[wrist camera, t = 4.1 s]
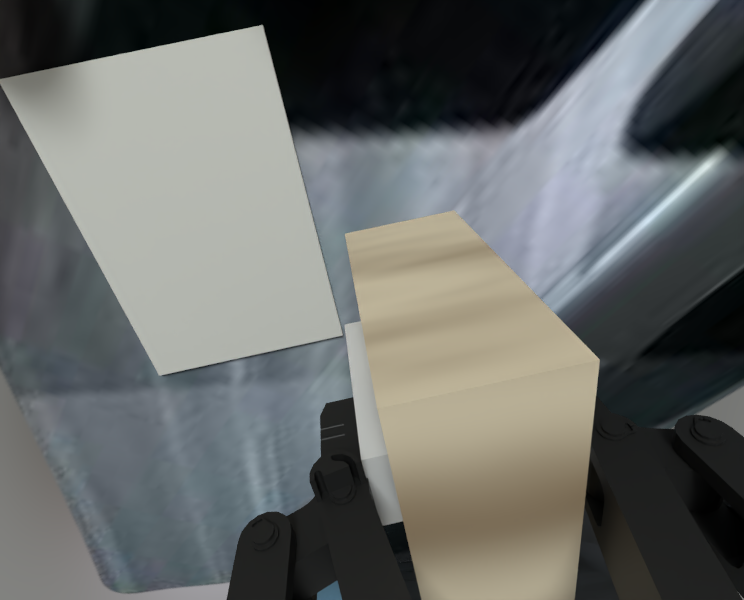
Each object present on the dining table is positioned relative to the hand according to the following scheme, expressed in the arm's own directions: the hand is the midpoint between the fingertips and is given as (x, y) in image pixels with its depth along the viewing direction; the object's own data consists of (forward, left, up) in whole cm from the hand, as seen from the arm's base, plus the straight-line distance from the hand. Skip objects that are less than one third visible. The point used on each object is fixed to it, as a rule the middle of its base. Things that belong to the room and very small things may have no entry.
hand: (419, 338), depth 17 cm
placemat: (+2, +11, -14) cm, 18 cm away
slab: (0, 0, -1) cm, 1 cm away
